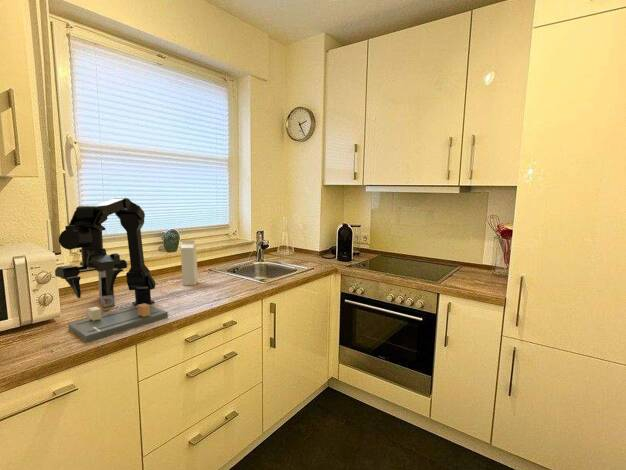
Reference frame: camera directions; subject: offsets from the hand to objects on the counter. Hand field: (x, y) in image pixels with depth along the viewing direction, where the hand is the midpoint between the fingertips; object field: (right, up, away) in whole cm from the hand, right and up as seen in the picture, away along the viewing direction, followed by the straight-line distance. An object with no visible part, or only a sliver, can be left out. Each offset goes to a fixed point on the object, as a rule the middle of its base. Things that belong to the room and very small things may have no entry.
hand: (95, 294), depth 105 cm
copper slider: (+9, -9, +12) cm, 18 cm away
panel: (+2, -12, +11) cm, 16 cm away
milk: (+7, -6, +62) cm, 63 cm away
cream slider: (-6, -10, +9) cm, 15 cm away
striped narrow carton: (-18, -9, +35) cm, 40 cm away
